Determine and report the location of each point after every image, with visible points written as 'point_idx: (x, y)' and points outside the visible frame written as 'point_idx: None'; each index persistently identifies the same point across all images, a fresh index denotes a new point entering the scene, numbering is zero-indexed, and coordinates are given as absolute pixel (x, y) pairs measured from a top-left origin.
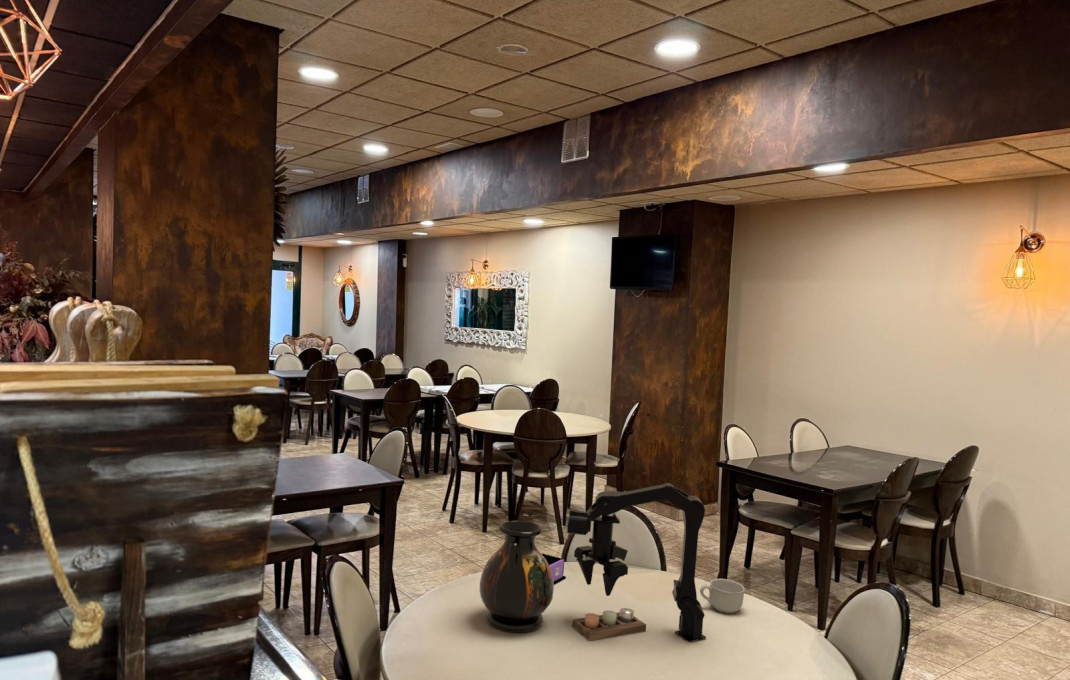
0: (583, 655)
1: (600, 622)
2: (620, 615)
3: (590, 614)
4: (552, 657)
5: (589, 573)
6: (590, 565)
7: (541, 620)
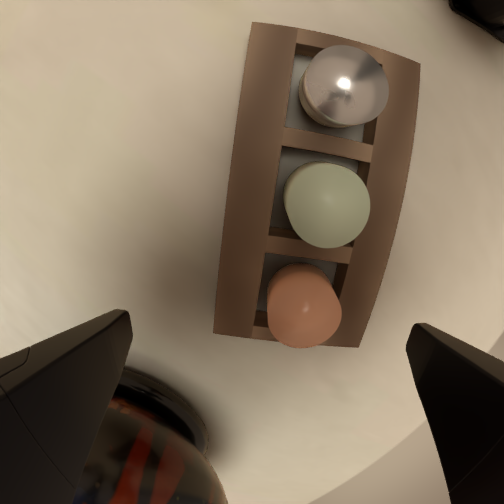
0: (396, 388)
1: (303, 243)
2: (332, 123)
3: (285, 313)
4: (350, 440)
5: (77, 392)
6: (18, 446)
7: (178, 408)
